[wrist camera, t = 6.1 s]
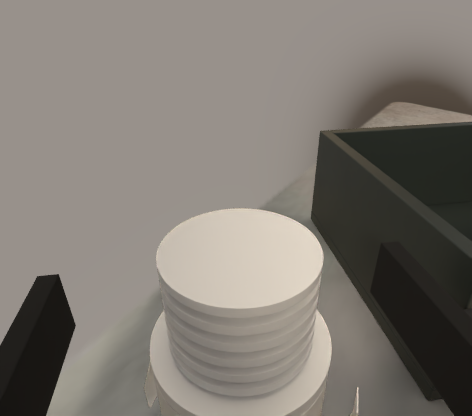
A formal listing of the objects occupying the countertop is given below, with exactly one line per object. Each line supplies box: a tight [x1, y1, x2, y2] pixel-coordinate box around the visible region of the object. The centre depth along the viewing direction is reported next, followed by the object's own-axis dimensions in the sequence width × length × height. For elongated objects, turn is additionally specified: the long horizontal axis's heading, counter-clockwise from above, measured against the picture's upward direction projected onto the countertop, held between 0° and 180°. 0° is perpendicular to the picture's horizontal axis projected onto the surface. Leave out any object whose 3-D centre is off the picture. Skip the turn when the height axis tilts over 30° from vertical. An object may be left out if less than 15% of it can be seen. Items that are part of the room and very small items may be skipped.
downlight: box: [144, 208, 359, 416], centre depth 12 cm, size 8×7×10 cm
